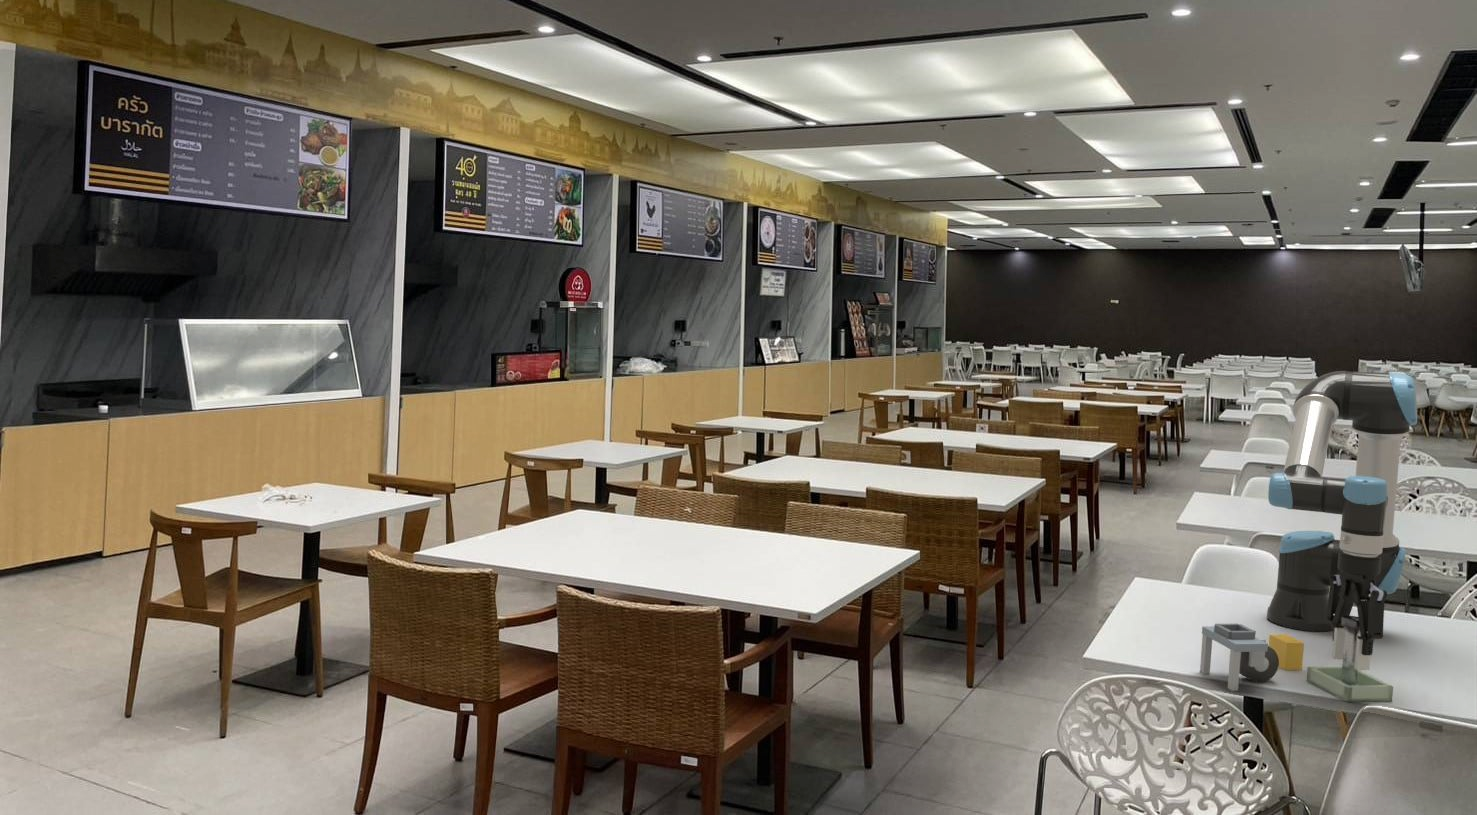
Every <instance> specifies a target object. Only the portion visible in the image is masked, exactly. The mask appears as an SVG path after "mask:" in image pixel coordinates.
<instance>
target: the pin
mask: <svg viewBox="0 0 1477 815" xmlns="http://www.w3.org/2000/svg"><path fill="white" fill-rule="evenodd" d="M1341 625H1342V626H1344V628H1345V638H1344V649H1343V659H1342V660H1341V662H1342V663H1341V667H1342V673H1341V682H1343V683H1345V684H1347V685H1349V686H1353V685H1356V684H1357V673H1358V670H1356V669H1355V657H1356V645H1357V638H1358V637H1357V636H1361V635H1360V627H1359V619H1358V616H1355V615H1350V616H1342V619H1341Z"/></svg>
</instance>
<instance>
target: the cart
mask: <svg viewBox="0 0 1477 815" xmlns="http://www.w3.org/2000/svg"><path fill="white" fill-rule="evenodd" d="M1201 634H1202V638H1201V640H1202V641H1201V651H1200V664H1199V666H1200V667H1199V672H1200V673H1201V674H1203V675H1210V673H1211V664H1212V662H1211V661H1212V649H1213V648H1212V647H1213V641H1214V642H1217V643H1218V644H1220V645H1221V646H1224V647H1226V648H1227V649H1229V650H1230V652H1229V653H1230V654H1229V662H1228V663H1229V664H1228V665H1229V666H1228V680H1227V689H1228V690H1230V691H1231V692H1235V691H1239V684H1240V683H1239V681H1240V675H1241V676H1243V677H1245V678H1246V679H1247V680H1250V681H1251V682H1253V683H1259V684H1261V683H1265V682H1269V680H1272V678H1273V677H1274V676H1276V673H1277V672H1278V668H1279V659H1278V655H1277V653H1276V652H1275V650H1274V649H1272V648H1271V647H1269V643H1267V640H1266V639H1264V638H1257V637H1256V630H1254V629H1252V628H1249V627H1248V626H1246V625H1243V624H1241V623H1215V624H1214V625H1213V626H1212V625H1210V626H1208V625H1206V626H1205V625H1204V626H1202V627H1201Z"/></svg>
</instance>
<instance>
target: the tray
mask: <svg viewBox="0 0 1477 815" xmlns="http://www.w3.org/2000/svg"><path fill="white" fill-rule="evenodd" d="M1306 668H1307V669H1306V670H1307V671H1306V682H1308V683H1310V684H1312V685H1313V686H1315V687H1317V688H1319V689H1321V690H1323V691H1325V690H1326V691H1328V692H1330V693H1332V694H1334V695H1336V696H1338V697H1339V698H1338V697H1337V698H1338V699H1340V698H1341V699H1340V700H1342V699H1343V700H1342V701H1344V702H1346V703H1358V702H1359V703H1361V702H1362V703H1363V702H1365V703H1366V702H1369V703H1370V702H1371V703H1372V702H1392V701H1393V695H1394V686H1393V685H1391V684H1390V683H1387V682H1384V681H1383V680H1380V679H1378V678H1376V677H1374V676H1373V675H1369V674H1368V673H1366V672H1364V671H1363V670H1358V673H1357V684H1356V685H1353V686H1349V685H1347V684H1345V683H1343V682H1341V673H1342V666H1307V667H1306ZM1326 691H1325V692H1326ZM1328 692H1327V693H1328ZM1330 693H1329V694H1330ZM1332 694H1331V695H1332ZM1334 695H1333V696H1334ZM1336 696H1335V697H1336Z"/></svg>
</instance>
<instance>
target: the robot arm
mask: <svg viewBox="0 0 1477 815" xmlns="http://www.w3.org/2000/svg"><path fill="white" fill-rule="evenodd" d="M1416 391H1417V389H1416V383H1415V380H1414V378H1413V377H1412V376H1410V375H1409V374H1408V375H1407V374H1400V373H1393V372H1373V371H1372V372H1371V371H1369V372H1368V371H1348V370H1338V371H1331V372H1328V373H1325V374H1322V375H1321V376H1319V377H1317V378H1315V379H1313V380H1311V381H1310V382H1309V383H1307V384H1306V385H1305V386H1304V387H1303V388H1302V390H1300V391H1299V393H1298V395H1297V396H1296V397H1295V400H1294V403H1293V408H1292V414H1293V417H1294V426H1293V429H1292V432H1291V438H1290V442H1289V447H1288V450H1287V455H1286V458H1285V459H1286V460H1285V463H1284V468H1283V471H1282V472H1274V473H1272V474H1271V475H1270V478H1269V483H1268V491H1267V494H1268V498H1267V499H1268V502H1269V504H1270V505H1271V506H1273V507H1277V508H1284V509H1287V510H1296V511H1297V510H1298V511H1307V512H1316V513H1325V514H1333V515H1334V514H1335V515H1341V526H1340V534H1339V536H1340V537H1339V539H1335V538H1336V537H1335V535H1334V533H1333V532H1329V531H1322V530H1298V531H1291V532H1287V533H1285V534H1283V536H1282V537H1281V539H1280V545H1279V546H1280V547H1279V549H1278V553H1279V558H1278V570H1277V581H1276V589H1275V592H1274V594H1273V596H1272V599H1271V601H1270V604H1269V606H1268V607H1267V611H1266V619H1267V620H1268V619H1269V620H1270V621H1269V620H1268V621H1269V622H1271V621H1272V622H1271V623H1273V622H1274V623H1273V624H1275V623H1277V624H1276V625H1278V624H1279V626H1281V625H1282V627H1285V628H1289V629H1294V630H1301V631H1309V632H1326V631H1327V632H1328V631H1332V632H1333V633H1332V641H1333V643H1332V645H1333V646H1332V660H1343V649H1344V638H1345V627H1344V626H1342V625H1341V619H1342V616H1351V613H1352V610H1353V606H1354V605H1356V608H1357V617H1358V619H1359V627H1360V635H1361V636H1357V637H1358V638H1357V645H1356V657H1355V669H1356V670H1360V671H1369V670H1370V665H1371V664H1370V663H1371V657H1372V654H1373V650H1374V649H1373V648H1374V641H1375V640H1382V639H1383V637H1384V622H1385V621H1384V618H1385V617H1384V616H1385V602H1386V599H1387V596H1388V595H1391V594H1394V593H1395V592H1396V591H1397V588H1398V585H1399V583H1400V579H1401V575H1402V570H1403V566H1404V562H1405V557H1406V552H1407V551H1406V549H1405V548H1404V547H1402V546H1400V539H1399V538H1398V537H1397V536H1396V535H1395V534H1394V533H1393V532H1394V522H1395V521H1394V520H1395V513H1396V512H1395V511H1396V510H1395V509H1396V499H1397V498H1396V497H1397V489H1398V488H1397V486H1398V476H1399V474H1398V473H1399V465H1400V451H1401V444H1402V443H1401V440H1402V438H1403V437H1404V436H1406V435H1407V434H1409V433H1410V426H1415V425H1417V424H1418V404H1417V392H1416ZM1337 420H1343V421H1352V425H1351V429H1352V430H1353V431H1354V432H1355V433H1356V434H1357V435H1358V440H1357V454H1356V465H1355V466H1356V468H1355V475H1352V476H1348V477H1346V479H1345V478H1332V477H1326V476H1325V477H1323V473H1324V467H1325V464H1326V463H1325V462H1326V458H1327V452H1328V447H1329V441H1330V435H1331V432H1332V431H1331V430H1332V425H1334V423H1336V421H1337Z"/></svg>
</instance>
